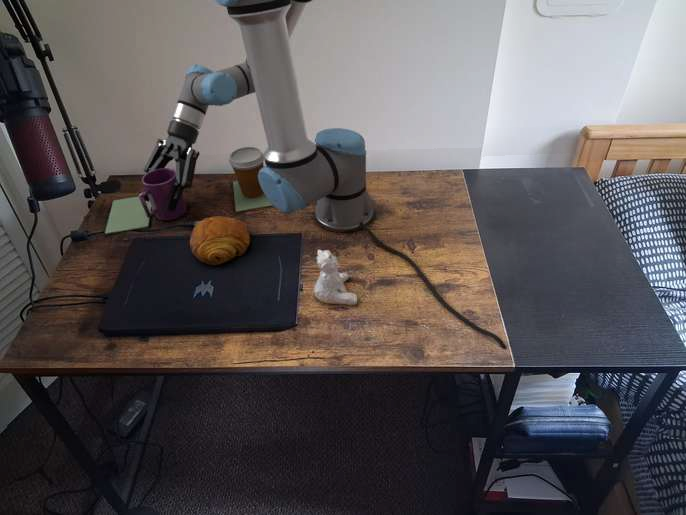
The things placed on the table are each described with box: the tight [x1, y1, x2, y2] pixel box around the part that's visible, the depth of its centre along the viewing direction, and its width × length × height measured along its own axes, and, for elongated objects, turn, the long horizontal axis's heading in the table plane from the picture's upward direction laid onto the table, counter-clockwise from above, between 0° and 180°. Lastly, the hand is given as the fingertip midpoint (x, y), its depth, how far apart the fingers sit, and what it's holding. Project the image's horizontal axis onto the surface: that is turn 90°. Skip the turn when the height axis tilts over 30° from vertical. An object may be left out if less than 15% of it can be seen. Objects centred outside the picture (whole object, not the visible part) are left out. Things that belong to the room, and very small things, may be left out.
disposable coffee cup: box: [228, 146, 265, 198], centre depth 127 cm, size 10×10×12 cm
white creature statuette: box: [313, 249, 358, 306], centre depth 95 cm, size 10×9×12 cm
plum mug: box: [138, 167, 188, 221], centre depth 122 cm, size 12×9×11 cm
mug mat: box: [104, 196, 152, 235], centre depth 126 cm, size 16×11×1 cm
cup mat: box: [232, 180, 275, 213], centre depth 131 cm, size 16×11×1 cm
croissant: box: [189, 215, 251, 266], centre depth 111 cm, size 14×16×8 cm
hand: (157, 205), depth 122 cm, fingers closed on plum mug, 9 cm apart
